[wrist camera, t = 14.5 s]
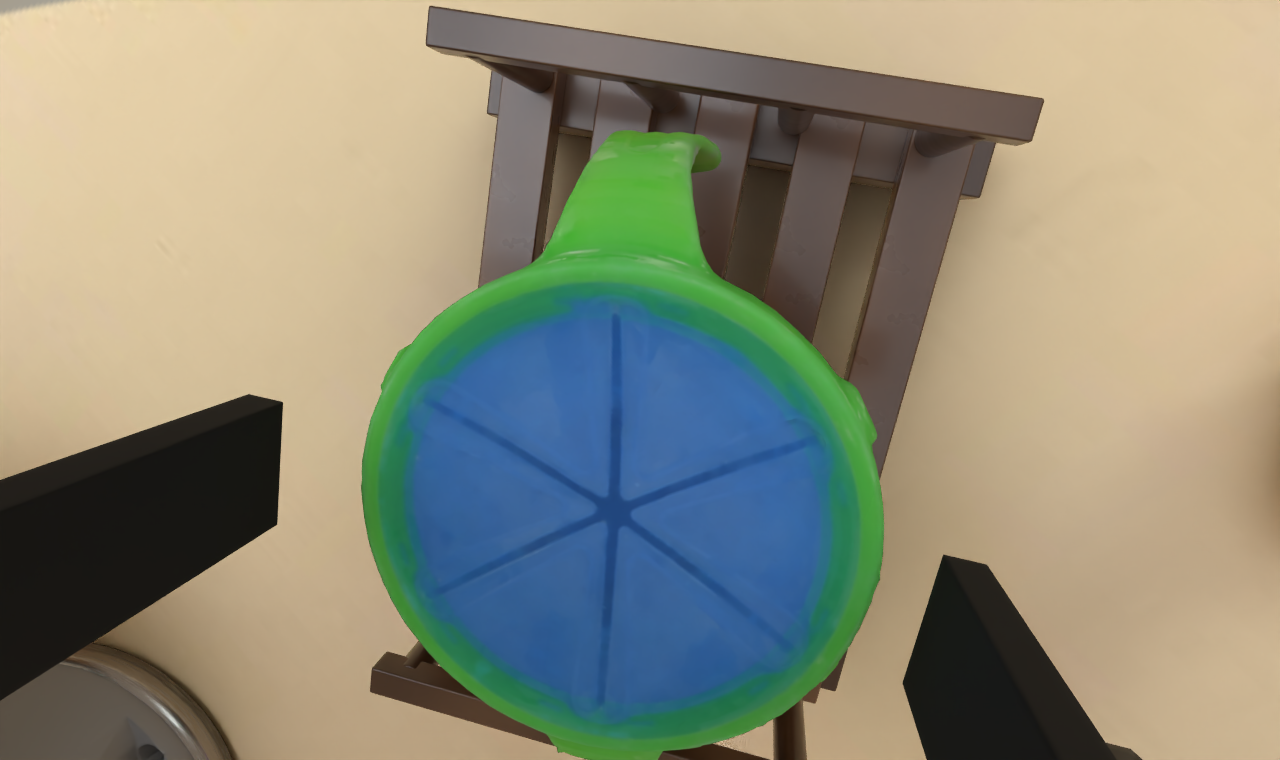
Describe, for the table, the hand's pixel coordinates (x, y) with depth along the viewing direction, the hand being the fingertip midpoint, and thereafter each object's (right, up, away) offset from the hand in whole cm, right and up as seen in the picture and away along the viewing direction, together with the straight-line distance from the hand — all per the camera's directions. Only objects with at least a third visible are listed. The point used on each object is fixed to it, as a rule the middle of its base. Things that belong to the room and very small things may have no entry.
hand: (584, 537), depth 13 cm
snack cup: (+2, +2, +10) cm, 11 cm away
